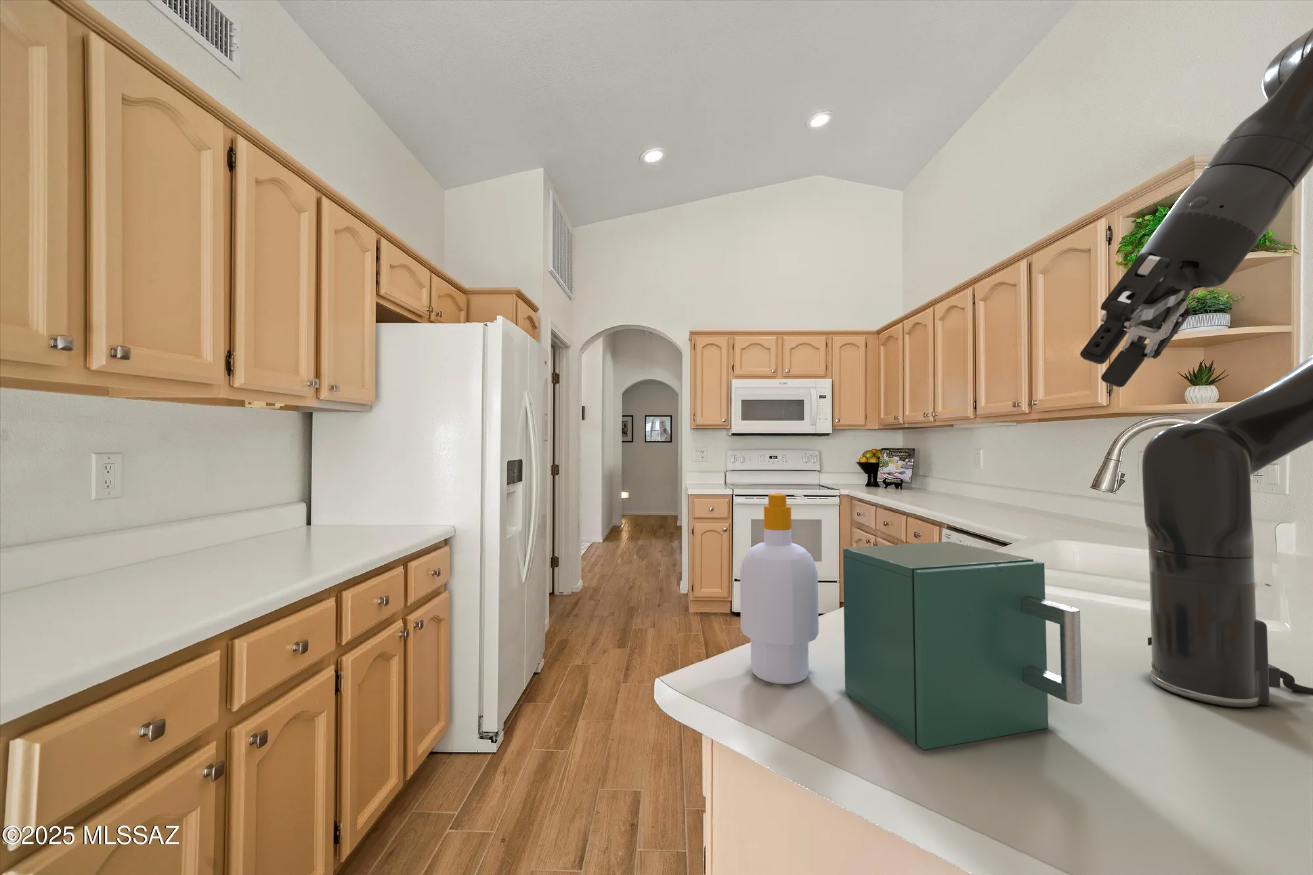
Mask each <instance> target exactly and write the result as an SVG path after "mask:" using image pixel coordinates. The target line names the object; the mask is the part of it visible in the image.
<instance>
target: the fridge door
mask: <svg viewBox="0 0 1313 875" xmlns="http://www.w3.org/2000/svg"><path fill="white" fill-rule="evenodd" d="M1045 570H1046V569H1045V562H1042V561H1037V560H1034V561H1031V562H1018V563H1005V564H992V565H978V566H965V567H952V568H939V569H925V570H914V606H915V660H916V714H917V744H916V745H917V746H918V747H919V748H921V749H922V750H923V751H926V750H931V749H938V748H944V747H949V746H955V745H961V744H965V743H966V744H967V743H971V742H977V741H983V740H989V739H994V738H1000V737H1005V736H1011V735H1016V734H1021V733H1027V732H1034V731H1038V730H1045V729H1049V700H1048V699H1049V698H1048V696H1049V695H1050V696H1052V697H1055V698H1056V699H1058V700H1061V701H1063V702H1065V703H1068V704H1071V705H1081V704H1083V680H1082V679H1083V678H1082V676H1083V675H1082V642H1081V641H1082V640H1081V610H1080V609H1079V608H1076V607H1073V606H1069V605H1066V604H1062V603H1058V602H1055V601H1051V600H1048V599H1046V578H1045V574H1046V573H1045ZM1047 621H1048V622H1051V623H1054V624H1057V625H1059V643H1060V644H1059V646H1060V647H1059V648H1060V650H1059V651H1060V652H1059V653H1060V675H1058V674H1056V673H1053V672H1050V671H1048V658H1047V657H1048V656H1047V653H1048V652H1047V650H1048V649H1047Z"/></svg>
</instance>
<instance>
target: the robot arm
mask: <svg viewBox="0 0 1313 875" xmlns="http://www.w3.org/2000/svg"><path fill="white" fill-rule="evenodd" d="M1261 80H1262V81H1261V89H1262V92H1263V94H1264V96H1265V98H1266V99H1267V101H1266V102H1265V103H1264V104H1263V105H1262V106H1260V107H1259V108H1258V109H1257V110H1256V111H1254V112H1253V113H1252V114H1250V115H1249V116H1248V117H1246V118H1245V119H1244V120H1243V121H1241V122H1240V123H1239V124H1238V125H1237V126H1236V127H1235V128H1234V129H1233V130H1232V131H1231V133H1230V134H1229V135H1227V137H1226V138H1225V140H1224V141H1223V142H1222V144H1220V147H1219V148H1218V149H1217V151H1216V152H1215V153H1214V155H1213V156H1212V157H1211V159H1210V160H1209V161H1208V163H1207V164H1206V166H1205V167H1204V168H1203V170H1202V172H1201V173H1199V175H1198V176H1197V177H1196V179H1195V180H1194V181H1192V182H1191V184H1190V185H1189V186H1188V187H1187V188H1186V189H1185V190H1184V192H1183V193H1182V194H1181V195H1180V197H1179V198H1178V199H1177V201H1176V202H1175V203H1174V205H1173V206H1172V208H1171V209H1170V210H1169V211H1168V213H1167V215H1166V216H1165V217H1164V218H1163V219H1162V221H1161V223H1159V225H1158V226H1157V228H1156V230H1155V231H1154V232H1153V233H1152V234H1151V236H1150V237H1149V239H1148V241H1146V243H1145V244H1144V245H1143V248H1142V249H1141V250H1140V252H1139V253H1138V254H1137V256H1136V259H1135V260H1134V261H1133V263H1132V264H1131V265H1130V266H1129V267H1128V269H1127V271H1126V272H1125V273H1124V274H1123V276H1122V277H1121V278H1120V280H1119V281H1118V282H1117V283H1116V285H1115V286H1114V287H1113V289H1111V291H1110V292H1109V294H1108V295H1107V297H1106V298H1104V301H1103V302H1102V303H1101V305H1100V311H1104V313H1103V315H1101V319H1100V322H1101V323H1100V325H1099V326H1098V328H1097V329H1096V330H1095V332H1094V333H1093V335H1092V336H1091V338H1090V339H1088V342H1087V343H1086V344H1085V345H1084V347H1083V348H1082V350H1081V351H1080V353H1079V355H1080V358H1082V359H1083V360H1084V361H1086V362H1087V361H1088V362H1090V363H1093V364H1096V365H1104V364H1105V363H1106V362H1107V361H1108V360H1109V359H1110V358H1111V356H1112V355H1113V353H1114V352H1115V350H1116V349H1117V348H1118V347H1119V345H1120V344H1121V343H1122V341H1123V340H1124V338H1125V337H1126V336H1127V334H1128V336H1127V338H1126V340H1125V342H1124V344H1123V346H1122V349H1120V351H1119V352H1118V354H1117V355H1116V356H1115V357H1114V358H1113V360H1112V362H1110V364H1109V366H1108V367H1107V368H1106V369H1105V371H1104V372H1103V373H1102V374H1101V376H1100V379H1101V381H1102V382H1103V383H1104V384H1108V385H1110V386H1112V387H1116V388H1123V387H1125V386H1126V385H1127V383H1128V382H1129V381H1130V380H1131V378H1132V377H1133V375H1134V374H1135V373H1136V372H1137V370H1138V369H1139V368H1140V367H1141V366H1142V364H1143V363H1144V361H1145V360H1146V359H1147V360H1149V359H1154V360H1155V359H1158V357H1160V356H1162V353H1163V351H1165V348H1167V346H1168V345H1169V343H1170V342H1171V341H1172V339H1173V338H1174V337H1175V335H1176V334H1177V333H1178V331H1179V330H1180V329H1181V328H1182V326H1183V325H1184V324H1185V322H1186V321H1187V320H1188V318H1189V317H1190V316H1191V315H1192V312H1193V309H1194V308H1193V307H1189V306H1188V305H1189V300H1190V299H1188V298H1189V296H1190V295H1191V292H1192V291H1193V290H1196V289H1201V288H1205V289H1207V288H1209V289H1210V288H1216V287H1219V286H1221V285H1223V284H1225V283H1227V281H1228V280H1229V279H1230V277H1231V276H1232V275H1233V274H1234V272H1235V271H1236V270H1237V269H1238V267H1239V266H1240V265H1241V263H1242V262H1243V261H1244V259H1246V257H1247V256H1248V254H1249V253H1250V252H1251V251H1252V249H1253V248H1254V247H1255V245H1256V244H1257V243H1258V242H1259V241H1260V239H1261V238H1262V237H1263V235H1264V234H1265V233H1266V231H1267V230H1268V229H1269V228H1270V227H1271V226H1272V224H1273V223H1274V222H1275V220H1276V219H1277V217H1278V216H1279V214H1280V213H1281V211H1282V209H1283V208H1284V206H1285V205H1286V202H1287V201H1288V199H1289V198H1290V196H1291V195H1292V193H1293V192H1294V191H1295V190H1296V189H1297V187H1298V186H1299V185H1300V183H1301V182H1302V180H1303V179H1305V177H1306V176H1307V174H1308V173H1309V172H1310V171H1311V169H1312V168H1313V27H1312V28H1311V29H1308V31H1306V32H1305V33H1303V34H1302V35H1300V36H1299V37H1297V38H1296V39H1295V40H1293V41H1292V42H1290V43H1289V44H1288V45H1286V46H1285V47H1284V48H1282V50H1281V51H1279V52H1278V53H1277V54H1276V55H1275V56H1274V57H1273V59H1272V60H1271V61H1270V62H1269V63H1268V65H1267V67H1266V69H1265V71H1264V73H1263V76H1262V79H1261ZM1147 340H1148V343H1145V342H1146V341H1147ZM1311 442H1313V354H1311V355H1310V356H1309V357H1307V358H1306V359H1304V360H1302V362H1300V363H1299V364H1298V365H1296V366H1295V367H1294V368H1291V369H1290V370H1289V371H1288V372H1286V373H1285V374H1284V375H1283V376H1281V377H1280V378H1278V379H1277V380H1275V381H1274V382H1273V383H1271V384H1269V385H1268V386H1267V387H1265V388H1263V389H1262V390H1260V391H1258V392H1257V393H1255V394H1253V395H1251V396H1249V397H1247V398H1245V399H1243V400H1241V401H1239V402H1236V403H1235V404H1233V405H1230V406H1228V407H1226V408H1224V409H1222V410H1219V411H1216V412H1215V413H1212V414H1210V415H1208V416H1206V417H1204V418H1201V419H1198V420H1196V421H1194V422H1186V423H1185V422H1184V423H1179V424H1175V425H1172V426H1168V427H1167V428H1165V429H1162V430H1161V431H1159V432H1158V433H1156V434H1155V435H1154V436H1152V437H1151V438H1150V439H1149V441H1148V442H1147V444H1146V446H1145V447H1144V450H1143V454H1142V462H1141V474H1142V475H1141V476H1142V495H1143V497H1142V498H1143V513H1144V514H1143V516H1144V523H1145V527H1146V532H1147V540H1148V542H1147V543H1148V569H1149V570H1148V573H1149V577H1148V578H1149V605H1150V606H1149V607H1150V608H1149V609H1150V612H1149V613H1150V637H1147V646H1148V647H1149V646H1151V670H1150V673H1151V674H1150V676H1151V681H1152V682H1153V683H1154V684H1156V685H1157V686H1158V687H1160V688H1162V689H1164V690H1166V691H1168V692H1171V693H1173V694H1175V695H1178V696H1181V697H1184V698H1187V699H1191V700H1194V701H1199V702H1202V703H1203V702H1204V703H1207V704H1212V705H1216V706H1217V705H1218V706H1223V707H1231V708H1232V707H1234V708H1254V707H1257V706H1259V705H1265V706H1270V705H1271V699H1270V688H1277V689H1281V683H1282V684H1283V686H1284V687H1285V688H1286V689H1288V690H1291V691H1293V692H1296V693H1300V694H1307V695H1313V687H1309V686H1305V685H1301V684H1298V683H1296V680H1295V677H1294V676H1293V675H1292V674H1291V673H1289V672H1287V671H1285V670H1282V669H1281V668H1279V667H1277V666H1275V665H1272V664H1270V663H1269V647H1268V646H1269V645H1268V643H1269V641H1268V640H1269V639H1268V625H1267V624H1266V622H1265V621H1263V620H1261V619H1257V606H1256V605H1257V604H1256V603H1257V602H1256V600H1257V599H1256V579H1255V578H1256V577H1255V544H1254V543H1255V542H1254V541H1255V539H1254V527H1253V518H1252V517H1253V516H1252V515H1253V514H1252V488H1251V486H1252V484H1251V483H1252V482H1251V476H1253V475H1254V474H1256V473H1257V472H1259V471H1260V470H1262V469H1264V468H1266V467H1267V466H1269V465H1270V464H1272V463H1274V462H1276V461H1278V460H1280V459H1281V458H1283V457H1285V456H1287V455H1288V454H1290V453H1292V452H1294V451H1296V450H1298V449H1299V448H1301V447H1303V446H1305V445H1307V444H1309V443H1311ZM1281 680H1282V682H1281Z"/></svg>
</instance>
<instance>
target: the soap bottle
mask: <svg viewBox="0 0 1313 875" xmlns="http://www.w3.org/2000/svg"><path fill="white" fill-rule="evenodd" d="M767 499H768V501H767V502H768V505H764V506H763V542H759V543H757V544H755V545H753V546H751V547H750V548H748V550H746V552H745V554H744V556H743V558H742V560H741V565H740V569H739V579H740V580H739V584H740V585H739V588H740V590H739V596H740V598H739V600H740V601H739V602H740V629H741V633H742V634H743V635H744V636H746V637H747V638H749V639H750V667H751V671H752V674H754V675H755V676H756V677H757V678H758V679H760V680H762V681H764V682H767V683H770V684H776V685H792V684H793V685H794V684H798V683H801V682H803V681H804V680H806V679H807V677H808V676H809V672H810V668H809V667H810V666H809V662H810V660H809V643H810V642H812V641H813V642H814V641H816V639H817V637H818V636H819V634H820V632H819V622H820V621H819V574H818V573H819V572H818V569H817V566H816V562H815V561H814V558H813V556H812V555H811V553H809V551H807V549H805V547H802V546H801V545H799V544H797V543H794V542H793V539H792V532H793V531H792V506H791V505H787V494H783V493H782V492H775V493H769V494H768V497H767Z"/></svg>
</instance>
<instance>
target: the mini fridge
mask: <svg viewBox="0 0 1313 875" xmlns="http://www.w3.org/2000/svg"><path fill="white" fill-rule="evenodd" d="M1031 561H1035V560H1034V559H1033V558H1030V557H1024V556H1020V555H1015V554H1011V553H1005V552H1001V551H996V550H991V549H986V548H981V547H976V546H972V545H967V544H963V543H958V542H953V541H936V542H935V541H933V542H918V543H917V542H916V543H901V544H900V543H899V544H887V545H886V544H885V545H869V546H868V545H867V546H866V545H865V546H853V547H852V546H849V547H842V571H843V572H842V573H843V574H842V575H843V582H842V583H843V584H842V585H843V640H844V641H843V642H844V644H843V646H844V647H843V648H844V649H843V650H844V693H845V694H846V695H848V697H850V698H852V700H854V701H855V702H857V703H858V704H859V705H861V706H862V707H863V708H865V709H867V710H868V711H869V712H870V713H872V714H873V715H874V716H876V717H878V719H880V720H881V721H883V722H884V723H885V724H887V725H888V726H889V727H891V728H892V729H893V730H895V731H896V732H897V733H899V734H900V735H902V736H903V737H905V738H906V739H907V740H908V741H909V742H911V743H913V744H914V745H917V714H916V660H915V606H914V570H925V569H939V568H952V567H965V566H978V565H992V564H1005V563H1018V562H1031Z"/></svg>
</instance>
